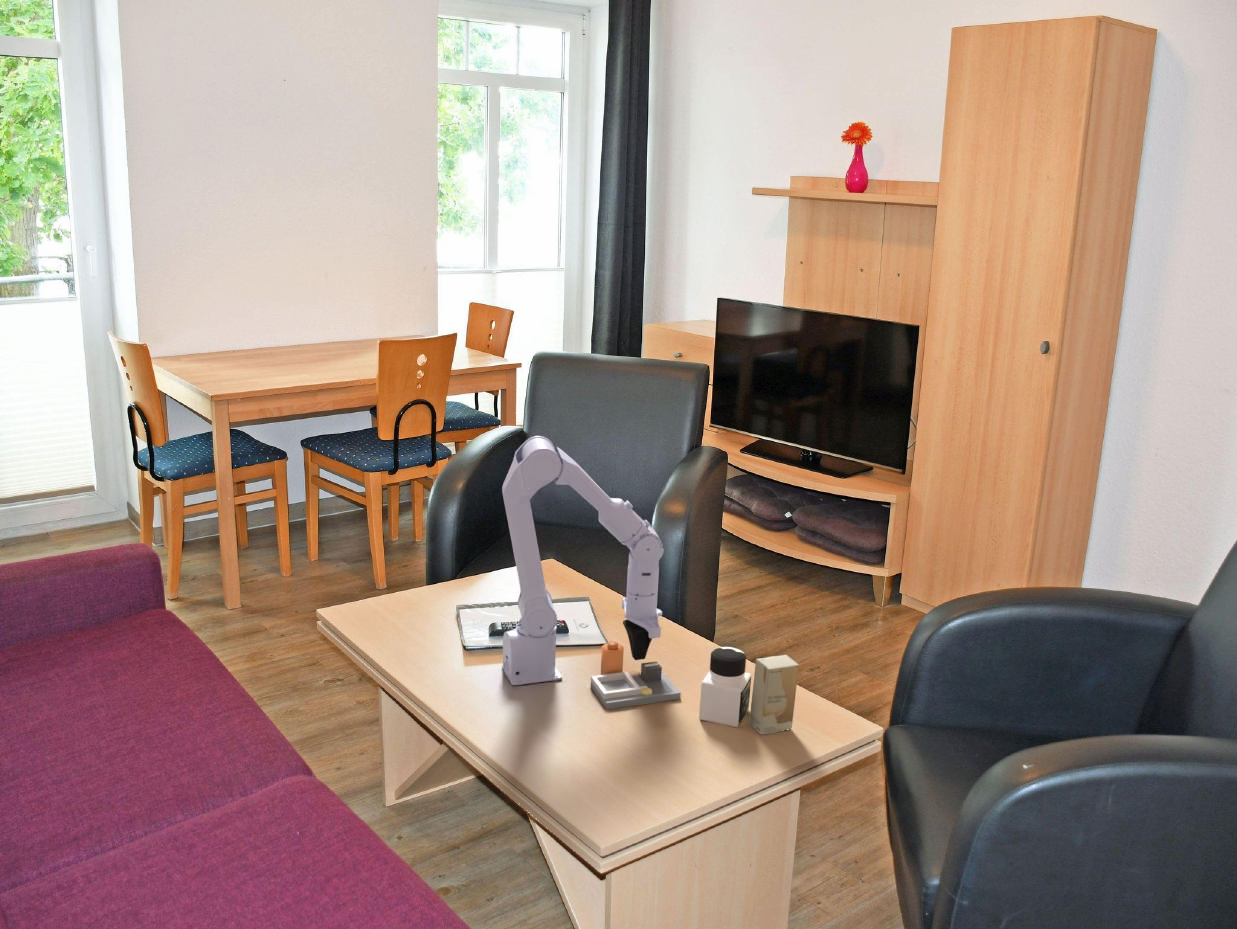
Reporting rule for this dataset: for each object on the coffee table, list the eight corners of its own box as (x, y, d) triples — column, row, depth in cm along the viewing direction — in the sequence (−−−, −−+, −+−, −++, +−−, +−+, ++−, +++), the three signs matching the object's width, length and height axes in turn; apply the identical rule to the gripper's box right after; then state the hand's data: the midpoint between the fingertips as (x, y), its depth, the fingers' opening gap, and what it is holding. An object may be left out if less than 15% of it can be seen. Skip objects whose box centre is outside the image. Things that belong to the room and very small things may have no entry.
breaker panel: (606, 709, 189) (607, 697, 188) (590, 687, 197) (590, 676, 196) (680, 698, 194) (681, 687, 193) (662, 677, 202) (662, 667, 201)
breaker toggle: (645, 681, 197) (646, 668, 196) (640, 675, 199) (641, 662, 198) (661, 679, 198) (661, 666, 197) (655, 673, 200) (656, 660, 199)
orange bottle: (604, 683, 198) (606, 649, 197) (597, 674, 202) (598, 640, 200) (625, 681, 200) (627, 647, 198) (617, 671, 203) (619, 638, 202)
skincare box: (761, 736, 182) (767, 669, 179) (748, 723, 186) (753, 658, 183) (794, 729, 185) (800, 664, 182) (780, 717, 189) (786, 653, 185)
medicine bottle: (738, 728, 184) (744, 664, 181) (698, 720, 187) (702, 656, 184) (748, 710, 191) (754, 647, 188) (709, 702, 193) (714, 639, 190)
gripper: (677, 603, 195) (673, 672, 199) (647, 574, 208) (644, 639, 212) (641, 607, 193) (637, 677, 196) (613, 577, 206) (610, 643, 209)
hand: (638, 658), depth 204 cm, fingers closed
